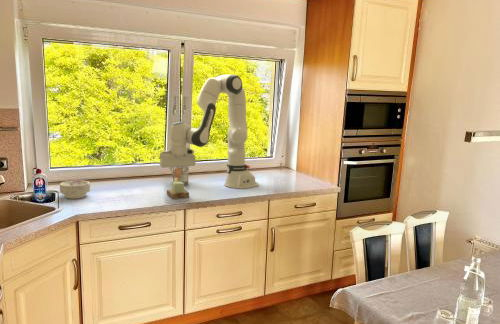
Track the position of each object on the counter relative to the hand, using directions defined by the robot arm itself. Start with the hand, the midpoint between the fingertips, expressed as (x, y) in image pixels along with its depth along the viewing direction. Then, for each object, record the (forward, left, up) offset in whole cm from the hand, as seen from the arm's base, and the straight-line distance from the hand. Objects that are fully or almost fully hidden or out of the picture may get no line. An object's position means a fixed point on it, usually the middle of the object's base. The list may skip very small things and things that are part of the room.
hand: (177, 174), depth 217 cm
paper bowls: (+53, -17, -13) cm, 57 cm away
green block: (0, 0, -10) cm, 10 cm away
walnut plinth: (0, 0, -13) cm, 13 cm away
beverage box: (-10, -26, -13) cm, 31 cm away
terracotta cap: (0, 0, -2) cm, 2 cm away
